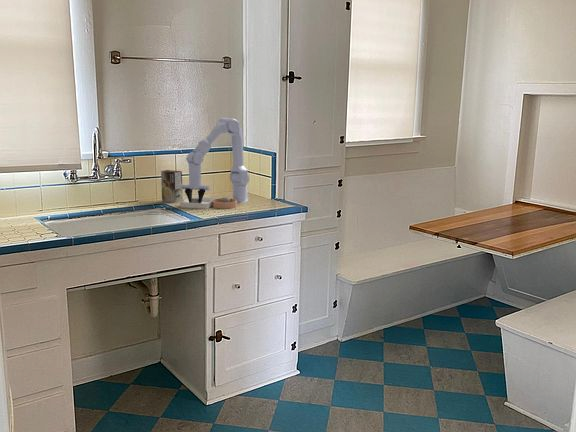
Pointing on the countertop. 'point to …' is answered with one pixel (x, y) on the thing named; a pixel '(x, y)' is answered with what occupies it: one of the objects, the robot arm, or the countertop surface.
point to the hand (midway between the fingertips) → (195, 204)
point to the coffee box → (171, 186)
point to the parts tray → (204, 204)
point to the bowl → (224, 204)
